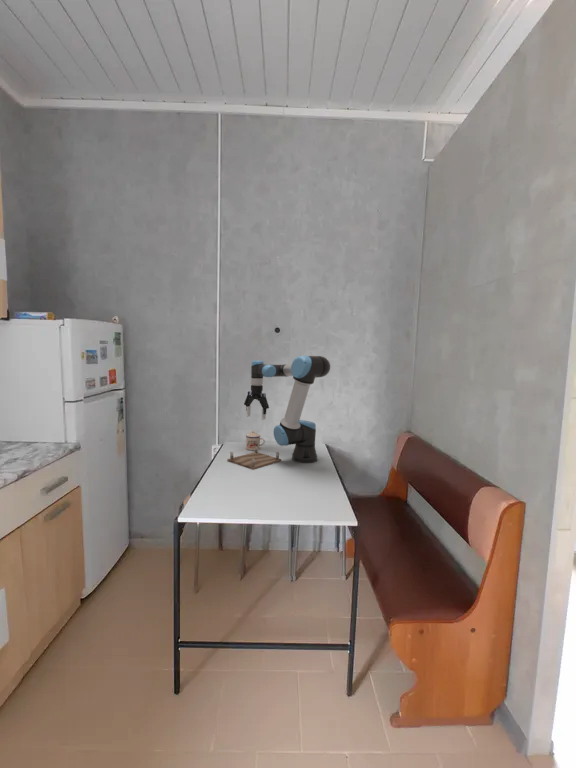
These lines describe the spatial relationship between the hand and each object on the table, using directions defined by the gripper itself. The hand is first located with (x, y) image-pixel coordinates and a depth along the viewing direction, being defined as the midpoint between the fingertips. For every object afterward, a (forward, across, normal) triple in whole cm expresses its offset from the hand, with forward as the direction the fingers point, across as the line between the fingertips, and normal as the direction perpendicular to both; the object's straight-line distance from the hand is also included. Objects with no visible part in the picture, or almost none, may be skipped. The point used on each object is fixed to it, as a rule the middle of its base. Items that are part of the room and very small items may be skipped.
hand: (255, 417), depth 250 cm
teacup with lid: (+21, 0, 0) cm, 21 cm away
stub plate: (+20, -19, +19) cm, 34 cm away
